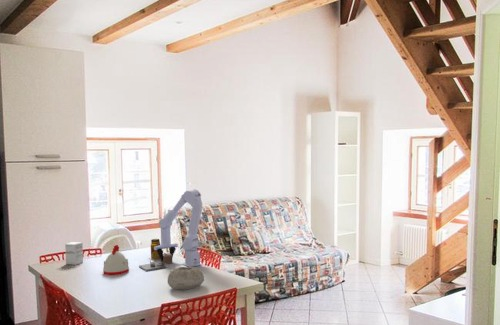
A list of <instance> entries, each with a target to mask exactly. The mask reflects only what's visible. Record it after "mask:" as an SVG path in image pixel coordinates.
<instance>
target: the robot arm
mask: <svg viewBox="0 0 500 325" xmlns="http://www.w3.org/2000/svg"><path fill="white" fill-rule="evenodd" d="M186 203H187V204H188V205H190V206H191V207H192V210H191V215H190V220H189V226H188V232H187V234H186V235H185V237H184V240H183V241H182V243H181V244H182V248H183V249H184V261H185V262H183V263H182V265H183V266H185V267H197V266H198V267H199V266H202V264H201V257H200V256H201V255H200V253H199V251H198V246H199V245H200V240H199V238H200V237H199V235H198V230H199V225H200V220H201V216H202V211H203V202H202V194H201V192H200V191H199V190H197V189H192V190H186V191H184V192H183V193H182V194H181V196H180V198H179V200H178V201H177V202H176V204H175V205H174V206H173V208H170V209H167V213H166V214H165V215H164V216H163V218H160V219H159V221H158V226H159V228H160V245H159V246H155V247H154V250H157V252H158V254H159V256H160V259H159V260H160V262H161V261H163V254H164V249H165V250H166V249H168V253H170V254H172V259H173V258H174V254H175V252H176V249H177V248H178V247H179V244H178V243H177V242H176V243H171V242H172V240H171V239H172V238H171V227H172V225H173V221H175V219H176V218H177V216H178V215H179V213H178V212H179V211H180V210H182V208H183V207H184V205H186Z"/></svg>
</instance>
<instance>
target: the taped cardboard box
mask: <svg viewBox="0 0 500 325" xmlns="http://www.w3.org/2000/svg"><path fill="white" fill-rule="evenodd" d="M160 263H161V264H163V265H167V264H172V263H173V258H172V254H170V252H163V261H161V260H160Z"/></svg>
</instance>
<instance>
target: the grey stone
mask: <svg viewBox="0 0 500 325" xmlns="http://www.w3.org/2000/svg"><path fill="white" fill-rule="evenodd" d="M204 281H205V276H204V273H203V271H202V270H201V269H199V268H197V267H195V266H193V267H188V266H178V267H176V268H173V270H171V271H169V273H168V276H167V284H168V287H170V288H171V289H174V290H176V291H177V290H178V291H185V290H189V289H194V288H198V287H199V286H201V285H202V284H203V283H204Z"/></svg>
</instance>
